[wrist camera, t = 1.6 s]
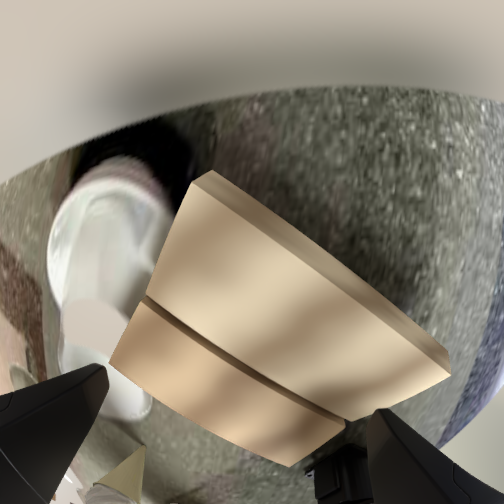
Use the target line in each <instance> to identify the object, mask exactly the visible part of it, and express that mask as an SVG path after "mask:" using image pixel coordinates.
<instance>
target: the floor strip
mask: <svg viewBox="0 0 504 504" xmlns="http://www.w3.org/2000/svg"><path fill="white" fill-rule="evenodd" d="M109 364H110V365H111V366H113V367H114V368H115V369H116V370H118V371H119V372H120V373H121V374H123V375H124V376H125V377H127V378H128V379H129V380H131V381H132V382H133V383H135V384H136V385H137V386H139V387H140V388H142V389H143V390H144V391H146V392H147V393H149V394H150V395H152V396H153V397H155V398H156V399H158V400H159V401H161V402H162V403H164V404H165V405H167V406H168V407H170V408H171V409H173V410H175V411H176V412H178V413H179V414H181V415H183V416H184V417H186V418H188V419H189V420H191V421H193V422H195V423H196V424H198V425H200V426H202V427H203V428H205V429H207V430H209V431H211V432H212V433H214V434H216V435H218V436H220V437H222V438H224V439H226V440H228V441H230V442H232V443H234V444H236V445H238V446H240V447H242V448H244V449H247V450H249V451H251V452H253V453H255V454H258V455H260V456H262V457H265V458H267V459H270V460H272V461H274V462H277V463H279V464H282V465H285V466H287V467H290V466H292V465H293V464H295V463H296V462H298V461H300V460H301V459H303V458H304V457H306V456H307V455H309V454H310V453H312V452H313V451H314V450H316V449H317V448H319V447H320V446H322V445H323V444H324V443H326V442H327V441H328V440H330V439H331V438H332V437H334V436H335V435H336V434H338V433H339V432H340V431H342V430H343V429H344V428H345V427H346V426H345V422H344V419H345V418H343V417H341V416H339V415H337V414H334V413H332V412H330V411H328V410H326V409H325V408H323V407H321V406H319V405H317V404H315V403H313V402H311V401H309V400H307V399H305V398H304V397H302V396H300V395H298V394H296V393H294V392H293V391H291V390H289V389H287V388H285V387H284V386H282V385H280V384H278V383H277V382H275V381H273V380H271V379H270V378H268V377H266V376H265V375H263V374H261V373H260V372H258V371H256V370H255V369H253V368H251V367H250V366H248V365H247V364H245V363H243V362H242V361H240V360H239V359H237V358H235V357H234V356H232V355H231V354H229V353H228V352H226V351H225V350H223V349H222V348H220V347H219V346H217V345H216V344H214V343H213V342H211V341H210V340H208V339H207V338H205V337H204V336H202V335H201V334H199V333H198V332H197V331H195V330H194V329H192V328H191V327H189V326H188V325H187V324H185V323H184V322H182V321H181V320H180V319H178V318H177V317H176V316H174V315H173V314H171V313H170V312H169V311H167V310H166V309H165V308H163V307H162V306H161V305H159V304H158V303H157V302H155V301H154V300H153V299H152V298H150V297H149V296H148V295H147V296H146V297H145V298H144V299H143V300H141V301H140V303H139V305H138V307H137V308H136V310H135V312H134V314H133V316H132V318H131V320H130V321H129V323H128V325H127V328H126V329H125V331H124V333H123V335H122V337H121V339H120V341H119V343H118V345H117V347H116V348H115V350H114V352H113V355H112V357H111V359H110V361H109Z"/></svg>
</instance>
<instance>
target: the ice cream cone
mask: <svg viewBox="0 0 504 504" xmlns="http://www.w3.org/2000/svg"><path fill="white" fill-rule="evenodd" d="M145 452H146V446H144V445H142V446H141V447H140V448H138V449H137V450H136V451H135V452H134V453H132V454H131V455H130V456H129V457H128V458H126V459H125V460H124V461H123V462H122V463H120V464H119V465H118V466H117V467H115V468H114V469H113V470H112V471H110V472H109V473H108V474H107V475H105V476H104V477H103V478H101V479H100V480H99V481H98V482H94V483H93V487H91V488H90V489H89V491H87V493H86V495H85V499H86V500H85V502H86V504H140V499H141V489H142V479H143V469H144V461H145Z"/></svg>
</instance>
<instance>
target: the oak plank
mask: <svg viewBox="0 0 504 504" xmlns="http://www.w3.org/2000/svg"><path fill="white" fill-rule="evenodd" d="M145 294H146V295H148V296H149V297H150V298H152V299H153V300H154V301H155V302H157V303H158V304H159V305H161V306H162V307H163V308H165V309H166V310H167V311H169V312H170V313H171V314H173V315H174V316H176V317H177V318H178V319H180V320H181V321H182V322H184V323H185V324H187V325H188V326H189V327H191V328H192V329H194V330H195V331H197V332H198V333H199V334H201V335H202V336H204V337H205V338H207V339H208V340H210V341H211V342H213V343H214V344H216V345H217V346H219V347H220V348H222V349H223V350H225V351H226V352H228V353H229V354H231V355H232V356H234V357H235V358H237V359H239V360H240V361H242V362H243V363H245V364H247V365H248V366H250V367H251V368H253V369H255V370H256V371H258V372H260V373H261V374H263V375H265V376H266V377H268V378H270V379H271V380H273V381H275V382H277V383H278V384H280V385H282V386H284V387H285V388H287V389H289V390H291V391H293V392H294V393H296V394H298V395H300V396H302V397H304V398H305V399H307V400H309V401H311V402H313V403H315V404H317V405H319V406H321V407H323V408H325V409H326V410H328V411H330V412H332V413H334V414H337V415H339V416H341V417H343V418H345V419H347V420H349V421H351V422H352V421H355V420H358V419H360V418H363V417H366V416H368V415H371V414H373V413H374V411H375V410H376V409H378V408H388V407H390V406H392V405H394V404H397V403H399V402H401V401H403V400H405V399H408V398H410V397H412V396H414V395H416V394H418V393H420V392H422V391H424V390H426V389H428V388H429V387H431V386H433V385H435V384H437V383H439V382H440V381H442V380H444V379H446V378H447V377H449V376H451V369H450V361H449V355H448V351H447V350H446V349H445V348H444V347H443V346H442V345H440V344H439V343H438V342H437V341H436V340H435V339H434V338H432V337H431V336H430V335H429V334H428V333H427V332H426V331H424V330H423V329H422V328H421V327H420V326H419V325H417V324H416V323H415V322H414V321H413V320H411V319H410V318H409V317H408V316H407V315H405V314H404V313H403V312H402V311H401V310H399V309H398V308H397V307H396V306H395V305H393V304H392V303H391V302H390V301H389V300H387V299H386V298H385V297H384V296H382V295H381V294H380V293H379V292H377V291H376V290H375V289H374V288H372V287H371V286H370V285H369V284H367V283H366V282H365V281H364V280H362V279H361V278H360V277H359V276H357V275H356V274H355V273H354V272H352V271H351V270H350V269H348V268H347V267H346V266H345V265H343V264H342V263H341V262H339V261H338V260H337V259H336V258H334V257H333V256H332V255H330V254H329V253H328V252H326V251H325V250H324V249H322V248H321V247H320V246H318V245H317V244H316V243H314V242H313V241H312V240H310V239H309V238H308V237H306V236H305V235H304V234H302V233H301V232H300V231H298V230H297V229H296V228H294V227H293V226H292V225H290V224H289V223H287V222H286V221H285V220H283V219H282V218H281V217H279V216H278V215H276V214H275V213H274V212H272V211H271V210H269V209H268V208H267V207H265V206H264V205H262V204H261V203H260V202H258V201H257V200H255V199H254V198H253V197H251V196H250V195H248V194H247V193H245V192H244V191H243V190H241V189H240V188H238V187H237V186H235V185H234V184H232V183H231V182H229V181H228V180H227V179H225V178H224V177H222V176H221V175H219V174H218V173H216V172H215V171H213V170H211V171H209V172H207V173H206V174H204V175H202V176H201V177H199V178H197V179H196V180H194V181H192V182H191V184H190V186H189V188H188V191H187V193H186V195H185V197H184V199H183V201H182V204H181V206H180V208H179V210H178V213H177V215H176V217H175V220H174V222H173V224H172V227H171V229H170V231H169V234H168V236H167V238H166V241H165V243H164V246H163V248H162V251H161V253H160V256H159V258H158V261H157V263H156V266H155V268H154V271H153V274H152V276H151V279H150V281H149V284H148V287H147V290H146V292H145Z"/></svg>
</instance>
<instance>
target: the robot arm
mask: <svg viewBox="0 0 504 504" xmlns="http://www.w3.org/2000/svg"><path fill="white" fill-rule="evenodd" d="M108 390H109V380H108V375H107V370H106V368H105V366H103V365H100V364H97V363H92V364H90V365H87V366H84V367H82V368H79V369H76V370H74V371H71V372H68V373H66V374H63V375H60V376H57V377H54V378H52V379H49V380H46V381H43V382H40V383H37V384H34V385H31V386H29V387H26V388H23V389H19V390H16V391H14V392H10V393H7V394H4V395H0V504H49V503H50V501H51V499H52V497H53V496H54V494H55V492H56V490H57V488H58V486H59V484H60V482H61V480H62V478H63V477H64V475H65V473H66V471H67V469H68V467H69V466H70V464H71V462H72V460H73V458H74V457H75V455H76V453H77V451H78V449H79V448H80V446H81V444H82V442H83V441H84V439H85V437H86V436H87V434H88V432H89V430H90V429H91V427H92V425H93V423H94V421H95V419H96V417H97V415H98V412H99V410H100V408H101V406H102V403H103V401H104V399H105V397H106V394H107V392H108ZM366 436H367V450H366V449H363V448H360V447H358V446H355V445H353V444H348V445H346V446H344V447H343V448H341V449H340V450H338V451H337V452H336V453H334V454H333V455H331V456H330V457H328V458H327V459H325V460H324V461H322V462H321V463H319V464H318V465H316V466H314V467H313V468H311V469H310V470H308V471H306V472H305V477H307V478H310V479H313V480H314V486H315V499H317V501H318V504H504V494H503V493H501V492H499V491H497V490H496V489H494V488H492V487H490V486H488V485H487V484H485V483H483V482H482V481H480V480H479V479H477V478H475V477H474V476H472V475H471V474H469V473H468V472H466V471H465V470H464V469H462V468H461V467H460V466H459V465H457V464H456V463H453V461H452V460H451V459H449V458H448V457H447V456H446V455H444V454H443V453H442V452H441V451H439V450H438V449H437V448H436V447H434V446H433V445H432V444H431V443H430V442H428V441H427V440H426V439H425V438H423V437H422V436H421V435H420V434H418V433H417V432H416V431H415V430H414V429H412V428H411V427H410V426H409V425H408V424H406V423H405V422H404V421H403V420H401V419H400V418H399V417H398V416H397V415H395V414H394V413H393V412H392V411H391V410H390V409H388V408H378V409H376V410H375V411H374V413H373V415H372V417H371V418H370V420H369V422H368V424H367V427H366Z"/></svg>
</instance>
